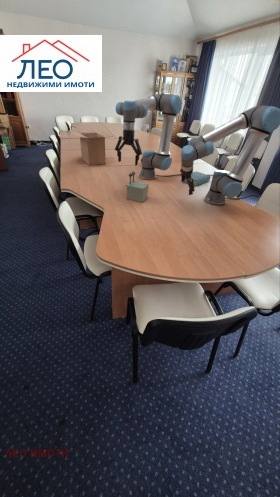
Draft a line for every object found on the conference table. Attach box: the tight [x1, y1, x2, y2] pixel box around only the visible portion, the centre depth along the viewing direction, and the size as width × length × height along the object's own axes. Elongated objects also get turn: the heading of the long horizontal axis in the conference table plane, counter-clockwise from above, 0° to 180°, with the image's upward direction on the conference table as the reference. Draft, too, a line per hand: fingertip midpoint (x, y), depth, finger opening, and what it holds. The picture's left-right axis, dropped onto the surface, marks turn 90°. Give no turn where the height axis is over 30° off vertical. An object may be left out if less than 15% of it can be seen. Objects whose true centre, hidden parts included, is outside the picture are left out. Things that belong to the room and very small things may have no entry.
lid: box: [125, 171, 149, 190], centre depth 158 cm, size 14×10×9 cm
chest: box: [126, 185, 149, 203], centre depth 163 cm, size 13×10×10 cm
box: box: [70, 129, 114, 166], centre depth 229 cm, size 44×36×27 cm
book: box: [180, 171, 211, 187], centre depth 203 cm, size 23×16×5 cm
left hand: (127, 163), depth 156 cm, fingers open, 13 cm apart
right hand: (187, 187), depth 162 cm, fingers open, 13 cm apart
